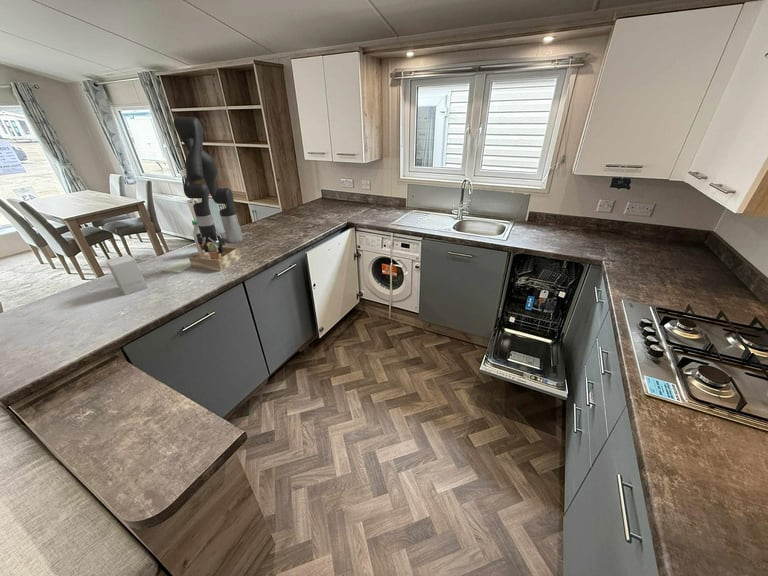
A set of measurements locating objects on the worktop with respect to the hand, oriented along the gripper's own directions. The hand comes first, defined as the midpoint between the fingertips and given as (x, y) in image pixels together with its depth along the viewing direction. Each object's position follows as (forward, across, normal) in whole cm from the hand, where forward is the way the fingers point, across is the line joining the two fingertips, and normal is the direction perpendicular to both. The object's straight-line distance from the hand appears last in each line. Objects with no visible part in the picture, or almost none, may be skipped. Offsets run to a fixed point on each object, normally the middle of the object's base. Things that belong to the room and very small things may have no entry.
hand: (214, 252), depth 163 cm
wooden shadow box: (+6, 0, 0) cm, 6 cm away
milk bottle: (+6, +15, -10) cm, 19 cm away
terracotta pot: (+6, 0, 0) cm, 6 cm away
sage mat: (+6, +16, +10) cm, 20 cm away
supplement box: (+7, +19, +34) cm, 39 cm away
